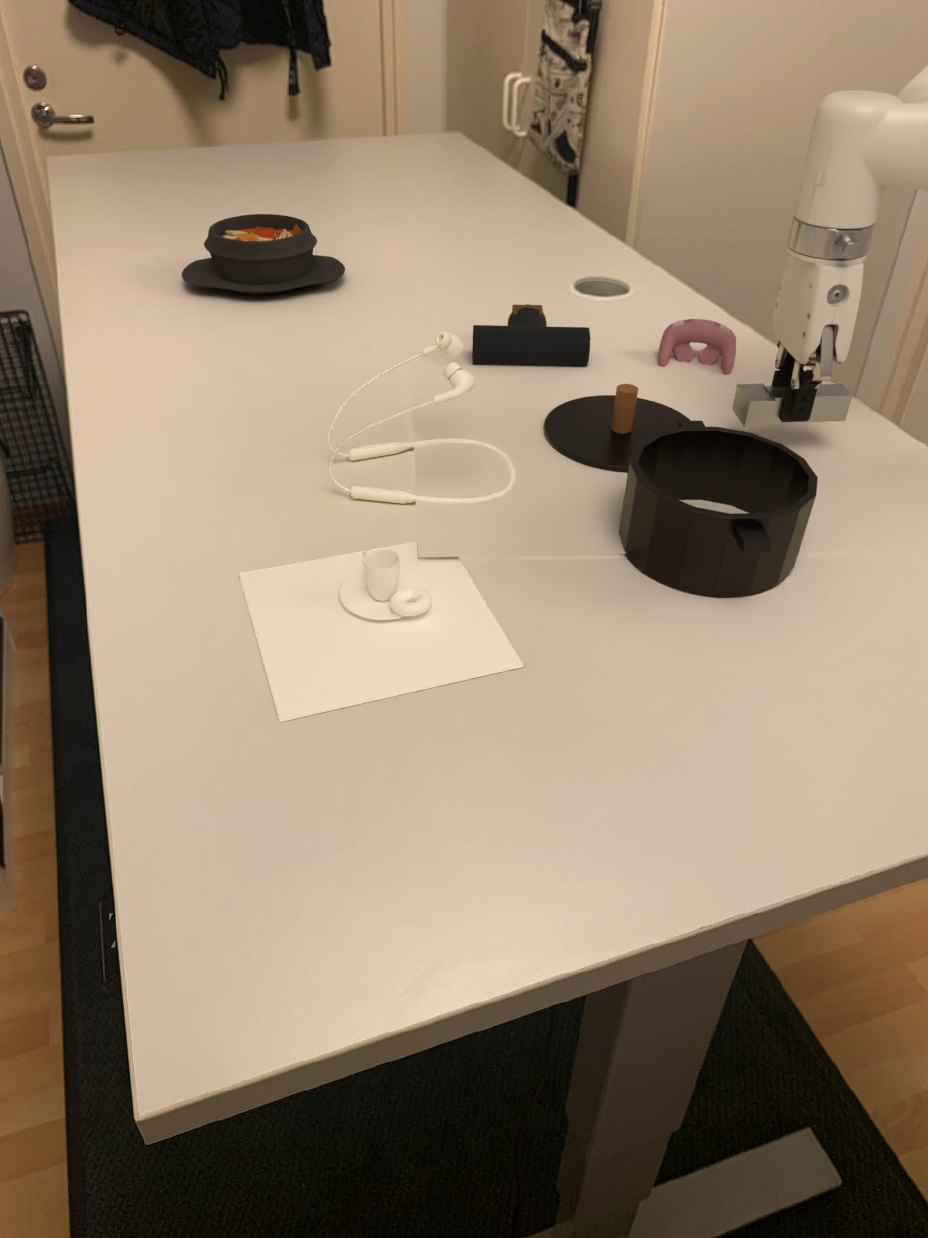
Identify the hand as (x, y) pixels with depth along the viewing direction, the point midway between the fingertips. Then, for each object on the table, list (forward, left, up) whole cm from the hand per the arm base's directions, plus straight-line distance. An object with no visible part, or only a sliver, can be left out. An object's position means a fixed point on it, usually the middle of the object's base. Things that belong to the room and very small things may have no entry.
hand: (788, 411), depth 100 cm
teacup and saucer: (+45, +28, -6) cm, 53 cm away
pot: (+13, +18, -5) cm, 23 cm away
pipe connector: (+25, -28, -6) cm, 38 cm away
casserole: (+63, -56, -6) cm, 85 cm away
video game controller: (+3, -24, -6) cm, 25 cm away
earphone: (+40, +4, -6) cm, 41 cm away
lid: (+17, -4, -5) cm, 18 cm away
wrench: (0, 0, -1) cm, 1 cm away
